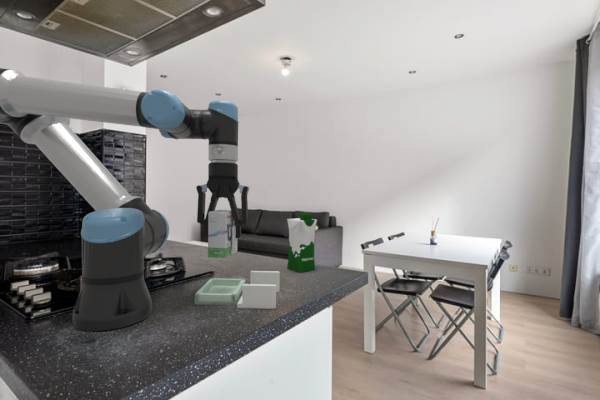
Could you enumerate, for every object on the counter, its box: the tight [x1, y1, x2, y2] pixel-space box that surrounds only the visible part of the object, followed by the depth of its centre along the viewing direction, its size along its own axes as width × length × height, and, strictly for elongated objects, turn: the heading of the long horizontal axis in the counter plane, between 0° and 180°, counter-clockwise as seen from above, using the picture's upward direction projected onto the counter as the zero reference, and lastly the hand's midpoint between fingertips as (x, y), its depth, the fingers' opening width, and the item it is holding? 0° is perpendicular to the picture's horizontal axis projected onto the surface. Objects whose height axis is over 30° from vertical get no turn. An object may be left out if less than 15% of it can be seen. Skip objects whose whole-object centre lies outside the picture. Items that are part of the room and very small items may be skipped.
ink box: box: [207, 209, 238, 259], centre depth 85 cm, size 9×5×12 cm, turn 170°
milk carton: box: [286, 212, 318, 274], centre depth 114 cm, size 9×9×20 cm
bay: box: [236, 270, 281, 310], centre depth 83 cm, size 9×13×6 cm
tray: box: [194, 277, 246, 306], centre depth 85 cm, size 10×14×2 cm
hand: (222, 250), depth 85 cm, fingers closed on ink box, 6 cm apart
